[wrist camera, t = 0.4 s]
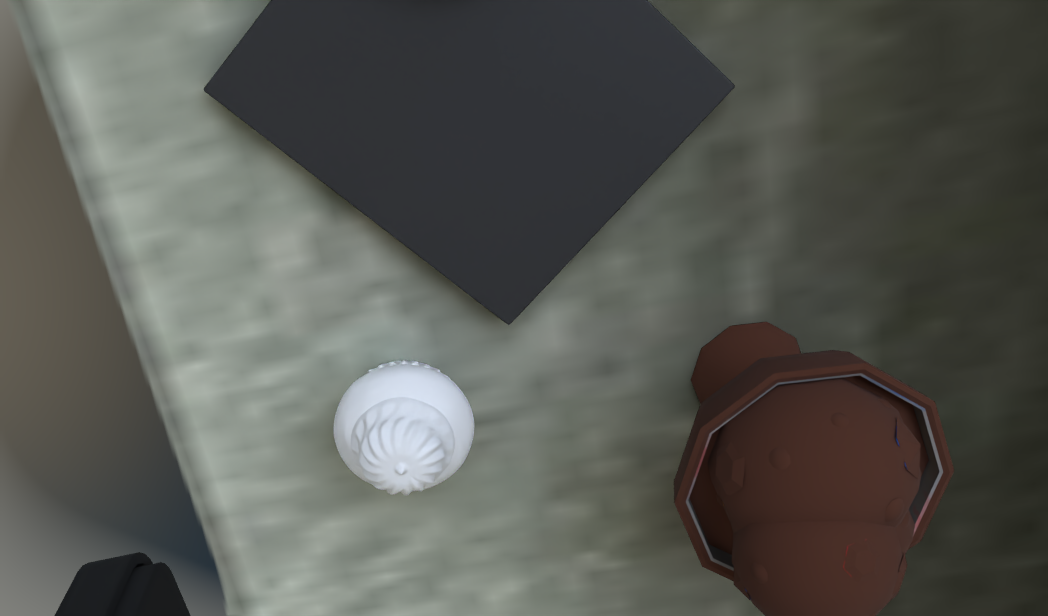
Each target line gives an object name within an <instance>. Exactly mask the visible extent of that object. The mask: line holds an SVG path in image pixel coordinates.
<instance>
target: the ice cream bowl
mask: <svg viewBox="0 0 1048 616" xmlns="http://www.w3.org/2000/svg"><path fill="white" fill-rule="evenodd" d="M691 382H692V384H693V387H694V389H695V392H696V394H697V397H698V399H699V401H700V404H701V405H700V407H699V410H698V412H697V415H696V418H695V421H694V424H693V427H692V430H691V433H690V436H689V438H688V441H687V444H686V447H685V450H684V453H683V456H682V459H681V462H680V465H679V468H678V471H677V474H676V476H675V479H674V503H675V505H676V508H677V510H678V512H679V515H680V517H681V519H682V521H683V524H684V526H685V528H686V531H687V533H688V535H689V537H690V540H691V542H692V544H693V546H694V549H695V551H696V553H697V556H698V558H699V560H700V562H701V565H702V567H704V568H706V569H708V570H711V571H713V572H715V573H717V574H719V575H721V576H724V577H726V578H728V579H730V580H732V581H734V585H735V586H736V587H737V588H738V589H739V590H740V591H741V592H742V593H743V594H744V595H745V596H746V597H747V598H748V599H749V600H751V601H752V603H753V604H754V605H755V606H756V607H757V608H758V609H759V610H760V611H761V612H762V613H763V614H764V615H765V616H876V615H877V614H878V613H879V612H880V611H881V610H882V609H883V608H884V607H885V606H886V604H887V603H888V602H889V601H890V600H891V599H893V598H894V597H895V596H896V595H897V594H898V592H899V589H900V586H901V583H902V581H903V578H904V575H905V571H906V568H907V562H906V558H905V554H906V552H907V550H908V549H910V548H911V547H913V546H914V545H916V544H917V543H919V542H920V541H921V540H922V538H923V536H924V534H925V532H926V529H927V527H928V525H929V523H930V521H931V519H932V517H933V515H934V512H935V510H936V508H937V506H938V504H939V502H940V500H941V498H942V496H943V493H944V491H945V489H946V487H947V485H948V483H949V481H950V479H951V476H952V474H953V472H954V468H953V465H952V461H951V457H950V454H949V450H948V447H947V443H946V440H945V436H944V433H943V429H942V425H941V422H940V418H939V415H938V411H937V408H936V404H935V402H934V401H933V400H931V399H930V398H928V397H926V396H925V395H923V394H922V393H920V392H918V391H917V390H915V389H914V388H912V387H910V386H908V385H907V384H905V383H903V382H901V381H899V380H898V379H896V378H894V377H892V376H891V375H889V374H887V373H885V372H883V371H882V370H880V369H878V368H876V367H875V366H873V365H871V364H869V363H867V362H866V361H864V360H862V359H860V358H859V357H857V356H855V355H853V354H851V353H850V352H844V351H835V350H830V351H821V352H812V353H804V354H801V352H800V349H799V346H798V343H797V340H796V338H795V337H793V336H791V335H790V334H788V333H786V332H784V331H782V330H781V329H779V328H777V327H775V326H773V325H772V324H770V323H768V322H761V323H752V324H743V325H734V326H730V327H729V328H727V329H726V330H725V331H723V332H722V333H721V334H719V335H718V336H717V337H716V338H714V339H713V340H712V341H710V342H709V343H708V344H706V345H705V346H704V347H703V348H701V351H700V354H699V357H698V360H697V363H696V366H695V369H694V372H693V375H692V378H691Z"/></svg>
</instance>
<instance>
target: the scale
mask: <svg viewBox="0 0 1048 616" xmlns="http://www.w3.org/2000/svg"><path fill="white" fill-rule="evenodd" d="M734 87H735V85H734V84H733V83H732V82H731V81H730V80H729V79H728V78H727V77H726V76H725V75H724V74H723V73H722V72H721V71H720V70H719V69H717V68H716V67H715V66H714V65H713V64H712V63H711V62H710V61H709V60H708V59H707V58H706V57H705V56H704V55H703V54H702V53H701V52H700V51H699V50H698V49H697V48H696V47H695V46H694V45H693V44H692V43H691V42H690V41H689V40H688V39H687V38H686V37H684V36H683V35H682V34H681V33H680V32H679V31H678V30H677V29H676V28H675V27H674V26H673V25H672V24H671V23H670V22H669V21H668V20H667V19H666V18H665V17H664V16H663V15H662V14H661V13H660V12H659V11H658V10H657V9H656V8H655V7H654V6H652V5H651V4H650V3H649V2H648V1H647V0H271V1H270V2H269V4H268V5H267V6H266V8H265V9H264V10H263V12H262V13H261V14H260V16H259V17H258V18H257V19H256V21H255V22H254V23H253V25H252V26H251V27H250V29H249V30H248V31H247V33H246V34H245V35H244V37H243V38H242V39H241V40H240V42H239V43H238V44H237V46H236V47H235V48H234V50H233V51H232V52H231V54H230V55H229V56H228V58H227V59H226V60H225V61H224V63H223V64H222V65H221V67H220V68H219V69H218V71H217V72H216V73H215V75H214V76H213V77H212V79H211V80H210V81H209V82H208V84H207V85H206V86H205V88H204V91H205V92H206V93H208V94H209V95H210V96H212V97H213V98H214V99H215V100H217V101H218V102H219V103H221V104H222V105H223V106H225V107H226V108H227V109H228V110H230V111H231V112H232V113H234V114H235V115H236V116H238V117H239V118H240V119H241V120H243V121H244V122H245V123H247V124H248V125H249V126H250V127H252V128H253V129H254V130H256V131H257V132H258V133H260V134H261V135H262V136H263V137H265V138H266V139H267V140H269V141H270V142H271V143H273V144H274V145H275V146H276V147H278V148H279V149H280V150H282V151H283V152H284V153H286V154H287V155H288V156H289V157H291V158H292V159H293V160H295V161H296V162H297V163H299V164H300V165H301V166H302V167H304V168H305V169H306V170H308V171H309V172H310V173H312V174H313V175H314V176H315V177H317V178H318V179H319V180H321V181H322V182H323V183H325V184H326V185H327V186H328V187H330V188H331V189H332V190H334V191H335V192H336V193H338V194H339V195H340V196H341V197H343V198H344V199H345V200H347V201H348V202H349V203H351V204H352V205H353V206H354V207H356V208H357V209H358V210H360V211H361V212H362V213H364V214H365V215H366V216H367V217H369V218H370V219H371V220H373V221H374V222H375V223H377V224H378V225H379V226H380V227H382V228H383V229H384V230H386V231H387V232H388V233H390V234H391V235H392V236H393V237H395V238H396V239H397V240H399V241H400V242H401V243H403V244H404V245H405V246H406V247H408V248H409V249H410V250H412V251H413V252H414V253H416V254H417V255H418V256H419V257H421V258H422V259H423V260H425V261H426V262H427V263H429V264H430V265H431V266H432V267H434V268H435V269H436V270H438V271H439V272H440V273H442V274H443V275H444V276H445V277H447V278H448V279H449V280H451V281H452V282H453V283H455V284H456V285H457V286H458V287H460V288H461V289H462V290H464V291H465V292H466V293H468V294H469V295H470V296H471V297H473V298H474V299H475V300H477V301H478V302H479V303H480V304H482V305H483V306H484V307H486V308H487V309H488V310H490V311H491V312H492V313H493V314H495V315H496V316H497V317H499V318H500V319H501V320H503V321H504V322H505V323H506V324H508V325H510V324H511V323H512V322H513V321H514V320H515V318H516V317H517V316H518V315H519V314H520V313H521V312H522V311H523V310H524V309H525V308H526V307H527V306H528V305H529V304H530V303H531V302H532V301H533V299H534V298H535V297H536V296H537V295H538V294H539V293H540V292H541V291H542V290H543V289H544V288H545V287H546V286H547V285H548V284H549V283H550V282H551V280H552V279H553V278H554V277H555V276H556V275H557V274H558V273H559V272H560V271H561V270H562V269H563V268H564V267H565V266H566V265H567V264H568V263H569V261H570V260H571V259H572V258H573V257H574V256H575V255H576V254H577V253H578V252H579V251H580V250H581V249H582V248H583V247H584V246H585V245H586V243H587V242H588V241H589V240H590V239H591V238H592V237H593V236H594V235H595V234H596V233H597V232H598V231H599V230H600V229H601V228H602V227H603V226H604V224H605V223H606V222H607V221H608V220H609V219H610V218H611V217H612V216H613V215H614V214H615V213H616V212H617V211H618V210H619V209H620V208H621V207H622V205H623V204H624V203H625V202H626V201H627V200H628V199H629V198H630V197H631V196H632V195H633V194H634V193H635V192H636V191H637V190H638V189H639V188H640V186H641V185H642V184H643V183H644V182H645V181H646V180H647V179H648V178H649V177H650V176H651V175H652V174H653V173H654V172H655V171H656V170H657V169H658V167H659V166H660V165H661V164H662V163H663V162H664V161H665V160H666V159H667V158H668V157H669V156H670V155H671V154H672V153H673V152H674V151H675V149H676V148H677V147H678V146H679V145H680V144H681V143H682V142H683V141H684V140H685V139H686V138H687V137H688V136H689V135H690V134H691V133H692V132H693V130H694V129H695V128H696V127H697V126H698V125H699V124H700V123H701V122H702V121H703V120H704V119H705V118H706V117H707V116H708V115H709V114H710V113H711V111H712V110H713V109H714V108H715V107H716V106H717V105H718V104H719V103H720V102H721V101H722V100H723V99H724V98H725V97H726V96H727V95H728V94H729V92H730V91H731V90H732V89H733V88H734Z"/></svg>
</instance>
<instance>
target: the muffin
mask: <svg viewBox="0 0 1048 616" xmlns="http://www.w3.org/2000/svg"><path fill="white" fill-rule="evenodd" d="M473 436H474V417H473V412H472V409H471V406H470V404H469V402H468V400H467V398H466V396H465V395H464V393H463V392H462V391H461V390H460V388H459V387H458V386H457V385H456V384H455V382H453V381H452V380H450V379H449V376H447V375H445V374H443V373H440V370H439V369H437V368H434V367H431V366H429V365H428V364H425V363H421V362H417V361H414V360H412V361H408V360H403V361H400V360H398V361H391V362H390V363H385V364H380V365H379V366H378V367H377V368H373V369H370V370H368V373H367V374H365V375H363V376H362V377H360V378H358V379H357V380H356V381H355V382H354V383H353V384H352V385H351V386H350V387H349V388H348V389H347V391H346V392H345V393H344V395H343V397H342V399H341V401H340V403H339V405H338V408H337V411H336V414H335V419H334V439H335V444H336V447H337V449H338V452H339V454H340V456H341V458H342V459H343V461H344V463H345V464H346V465H347V467H348V468H349V469H350V470H351V471H352V472H353V473H354V474H355V475H357V476H358V477H359V478H361V479H362V480H364V481H366V482H368V483H370V484H373V485H374V487H375V488H377V489H379V490H385V489H386V491H387V492H388V493H389V494H396V493H398V492H402V493H403V494H404V495H408V494H410V492H411V491H420V492H421V491H422V490H423V489H427V488H430V487H433V486H435V485H437V484H439V483H441V482H443V481H445V480H446V479H447V478H449V477H450V476H451V475H453V474H454V473H455V472H456V471H457V470H458V469H459V468H460V466H461V465H462V464H463V462H464V461H465V459H466V457H467V455H468V453H469V450H470V448H471V445H472V441H473Z"/></svg>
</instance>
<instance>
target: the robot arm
mask: <svg viewBox="0 0 1048 616" xmlns="http://www.w3.org/2000/svg"><path fill="white" fill-rule="evenodd" d="M55 616H190V614H189V611H188V609H187V607H186V604H185V602H184V600H183V597H182V595H181V593H180V590H179V588H178V586H177V583H176V581H175V579H174V576H173V574H172V572H171V570H170V569H169V567H168V566H167V565H166V564H165V563H161V562H160V563H156V564H153V563H152V561H151V560H150V558H149V557H147V555H145V554H143V553H140V552H139V553H134V554H129V555H124V556H120V557H115V558H110V559H105V560H100V561H95V562H90V563H87V564H85V565H83V566H82V567H81V569H80V570H79V571H78V572H77V574H76V576H75V578H74V580H73V582H72V584H71V586H70V588H69V589H68V591H67V593H66V595H65V597H64V599H63V601H62V603H61V604H60V607H59V608H58V610H57V612H56V614H55Z"/></svg>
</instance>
